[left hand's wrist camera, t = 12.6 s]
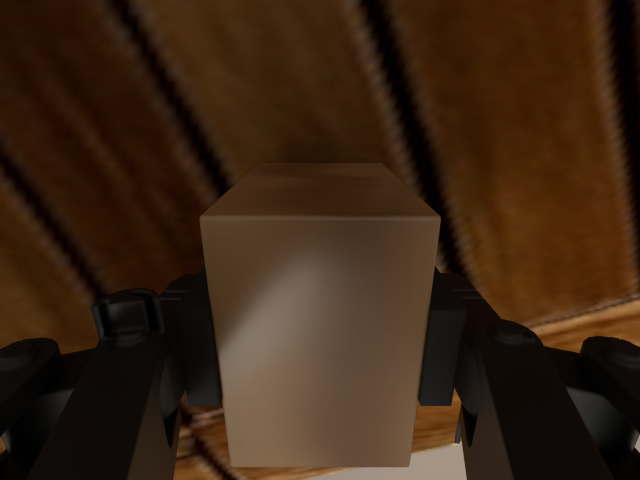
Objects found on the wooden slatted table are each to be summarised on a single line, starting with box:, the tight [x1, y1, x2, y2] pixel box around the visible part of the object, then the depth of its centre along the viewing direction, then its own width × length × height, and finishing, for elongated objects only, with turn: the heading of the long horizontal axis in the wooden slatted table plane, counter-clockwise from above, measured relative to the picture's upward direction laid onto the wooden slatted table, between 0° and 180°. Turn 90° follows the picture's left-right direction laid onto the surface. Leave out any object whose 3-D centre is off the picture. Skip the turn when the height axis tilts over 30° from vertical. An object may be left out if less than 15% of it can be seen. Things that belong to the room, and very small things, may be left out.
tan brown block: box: [199, 163, 441, 467], centre depth 12 cm, size 5×7×7 cm
